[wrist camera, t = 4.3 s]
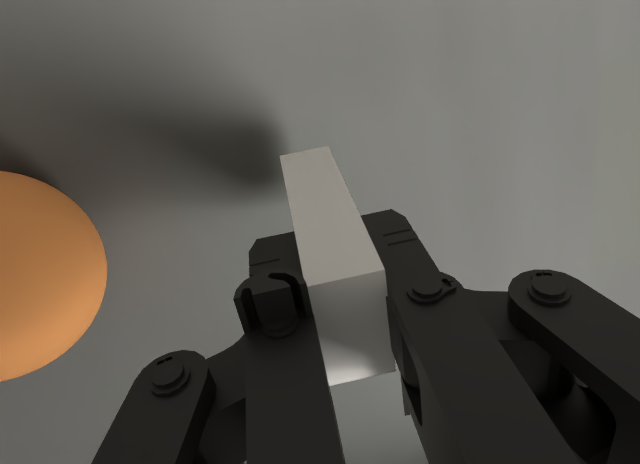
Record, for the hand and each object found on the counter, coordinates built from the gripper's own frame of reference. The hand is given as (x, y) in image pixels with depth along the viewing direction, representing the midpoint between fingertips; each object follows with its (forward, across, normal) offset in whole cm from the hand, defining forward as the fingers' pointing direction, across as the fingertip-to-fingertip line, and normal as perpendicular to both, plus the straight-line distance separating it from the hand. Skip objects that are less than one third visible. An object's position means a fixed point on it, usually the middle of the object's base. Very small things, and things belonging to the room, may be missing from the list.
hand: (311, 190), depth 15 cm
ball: (-1, +10, 0) cm, 10 cm away
